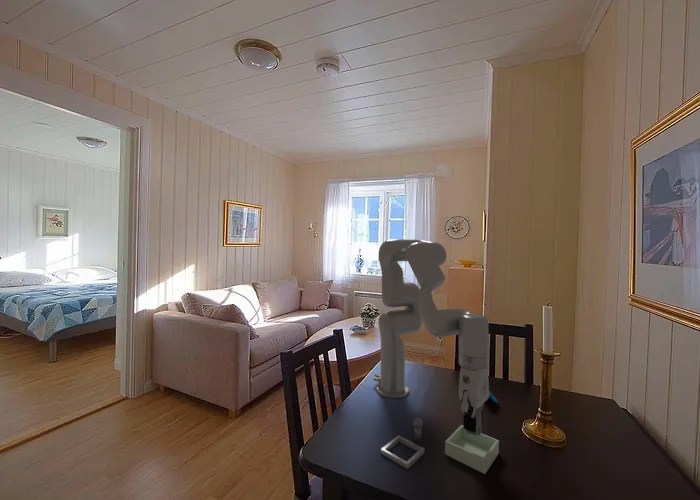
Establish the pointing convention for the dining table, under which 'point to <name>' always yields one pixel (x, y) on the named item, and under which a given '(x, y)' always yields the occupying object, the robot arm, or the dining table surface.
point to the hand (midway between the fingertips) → (473, 425)
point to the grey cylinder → (478, 421)
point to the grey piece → (417, 438)
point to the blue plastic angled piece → (493, 397)
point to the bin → (472, 449)
